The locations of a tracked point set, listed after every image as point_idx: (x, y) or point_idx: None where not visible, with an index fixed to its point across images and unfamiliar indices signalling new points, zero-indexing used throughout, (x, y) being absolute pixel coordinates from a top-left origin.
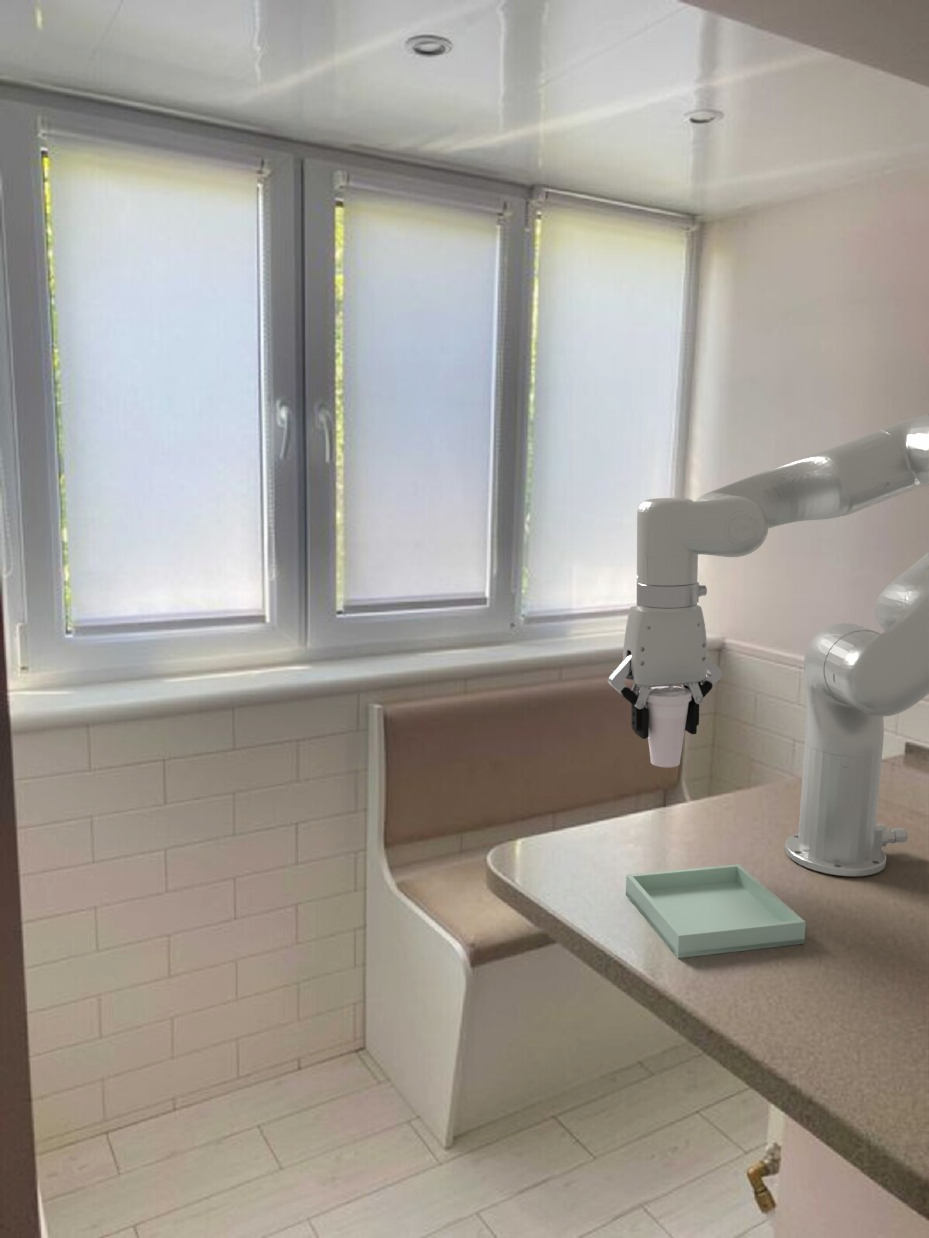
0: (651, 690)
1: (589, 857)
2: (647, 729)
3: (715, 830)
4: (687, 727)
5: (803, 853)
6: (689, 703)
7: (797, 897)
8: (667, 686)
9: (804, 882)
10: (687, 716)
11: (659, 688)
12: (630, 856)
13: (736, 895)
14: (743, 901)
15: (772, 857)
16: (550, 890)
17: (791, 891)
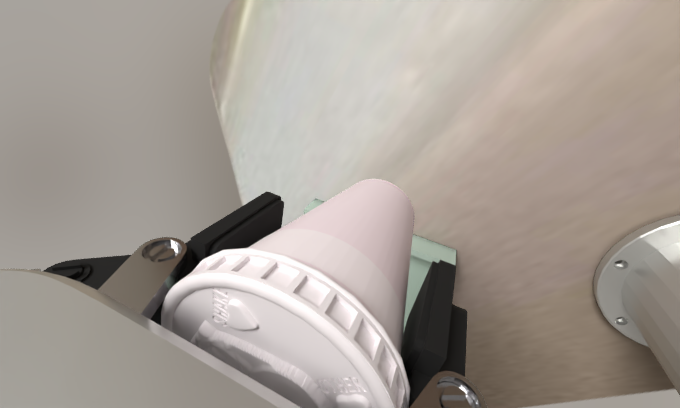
0: (193, 344)
1: (327, 88)
2: None
3: (625, 87)
4: (414, 306)
5: (625, 271)
6: None
7: (491, 307)
8: (331, 344)
9: (542, 295)
10: (407, 336)
11: (246, 352)
12: (383, 113)
13: (417, 275)
14: (413, 287)
15: (590, 227)
16: (247, 148)
17: (500, 296)
